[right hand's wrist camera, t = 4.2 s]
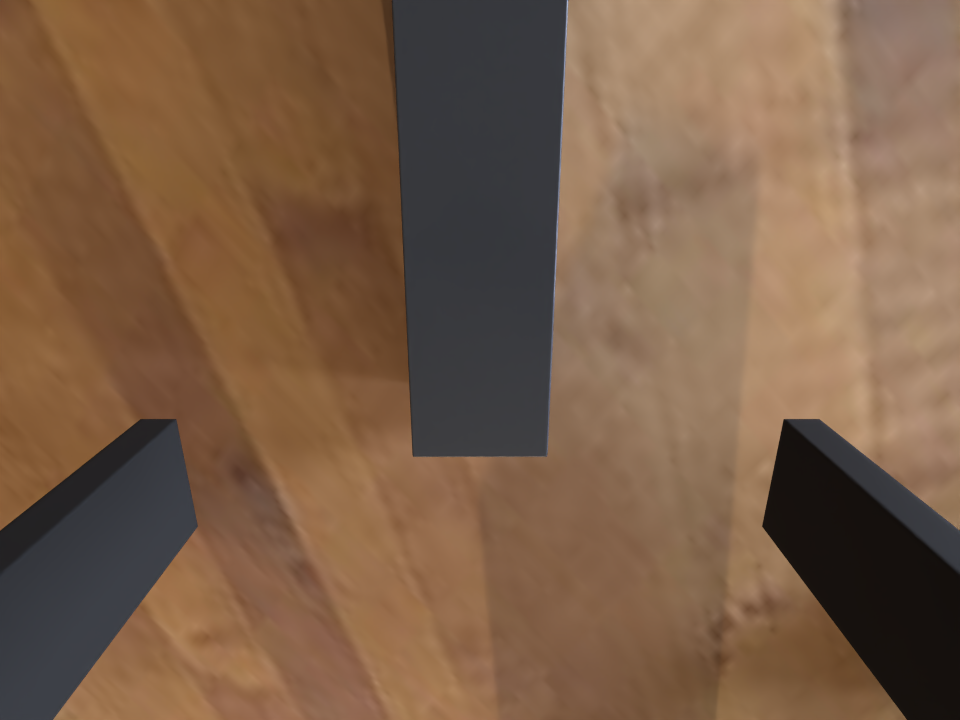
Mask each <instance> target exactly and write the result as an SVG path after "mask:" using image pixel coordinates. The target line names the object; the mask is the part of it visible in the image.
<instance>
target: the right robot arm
mask: <svg viewBox="0 0 960 720" xmlns="http://www.w3.org/2000/svg"><path fill="white" fill-rule="evenodd" d="M197 527H198V525H197V520H196V515H195V510H194V505H193V500H192V495H191V490H190V485H189V480H188V475H187V470H186V465H185V461H184V456H183V451H182V446H181V441H180V436H179V431H178V426H177V421H176V419H140V420H139V421H138V422H137V423H135V424H134V425H133V426H132V427H130V428H129V429H128V430H127V431H125V432H124V433H123V434H122V435H120V436H119V437H118V438H116V439H115V440H114V441H113V442H111V443H110V444H109V445H108V446H106V447H105V448H104V449H103V450H101V451H100V452H99V453H98V454H96V455H95V456H94V457H93V458H91V459H90V460H89V461H88V462H86V463H85V464H84V465H82V466H81V467H80V468H79V469H77V470H76V471H75V472H74V473H72V474H71V475H70V476H69V477H67V478H66V479H65V480H64V481H62V482H61V483H60V484H59V485H57V486H56V487H55V488H54V489H52V490H51V491H50V492H48V493H47V494H46V495H45V496H43V497H42V498H41V499H40V500H38V501H37V502H36V503H35V504H33V505H32V506H31V507H30V508H28V509H27V510H26V511H25V512H23V513H22V514H21V515H20V516H18V517H17V518H16V519H14V520H13V521H12V522H11V523H9V524H8V525H7V526H6V527H4V528H3V529H2V530H1V531H0V720H53V719H54V718H55V716H56V715H57V714H58V712H59V711H60V710H61V708H62V707H63V705H64V704H65V703H66V701H67V700H68V699H69V697H70V696H71V695H72V693H73V692H74V691H75V689H76V688H77V687H78V685H79V684H80V683H81V681H82V680H83V679H84V677H85V676H86V675H87V673H88V672H89V671H90V669H91V668H92V667H93V665H94V664H95V663H96V661H97V660H98V659H99V657H100V656H101V655H102V653H103V652H104V651H105V649H106V648H107V647H108V645H109V644H110V643H111V641H112V640H113V639H114V637H115V636H116V635H117V633H118V632H119V631H120V629H121V628H122V627H123V625H124V624H125V623H126V621H127V620H128V619H129V617H130V616H131V615H132V613H133V612H134V611H135V609H136V608H137V607H138V605H139V604H140V603H141V601H142V600H143V599H144V597H145V596H146V595H147V593H148V592H149V591H150V589H151V588H152V587H153V585H154V584H155V583H156V581H157V580H158V579H159V577H160V576H161V575H162V573H163V572H164V571H165V569H166V568H167V567H168V565H169V564H170V563H171V561H172V560H173V559H174V557H175V556H176V555H177V553H178V552H179V551H180V549H181V548H182V547H183V545H184V544H185V543H186V541H187V540H188V539H189V537H190V536H191V535H192V533H193V532H194V531H195V529H196V528H197ZM762 527H763V528H764V529H765V531H766V532H767V533H768V535H769V536H770V537H771V539H772V540H773V541H774V543H775V544H776V545H777V547H778V548H779V549H780V551H781V552H782V553H783V555H784V556H785V557H786V559H787V560H788V561H789V563H790V564H791V565H792V567H793V568H794V569H795V571H796V572H797V573H798V575H799V576H800V577H801V579H802V580H803V581H804V583H805V584H806V585H807V587H808V588H809V589H810V591H811V592H812V593H813V595H814V596H815V597H816V599H817V600H818V601H819V603H820V604H821V605H822V607H823V608H824V609H825V611H826V612H827V613H828V615H829V616H830V617H831V619H832V620H833V621H834V623H835V624H836V625H837V627H838V628H839V629H840V631H841V632H842V633H843V635H844V636H845V637H846V639H847V640H848V641H849V643H850V644H851V645H852V647H853V648H854V649H855V651H856V652H857V653H858V655H859V656H860V657H861V659H862V660H863V661H864V663H865V664H866V665H867V667H868V668H869V669H870V671H871V672H872V673H873V675H874V676H875V677H876V679H877V680H878V681H879V683H880V684H881V685H882V687H883V688H884V689H885V691H886V692H887V693H888V695H889V696H890V697H891V699H892V700H893V701H894V703H895V704H896V705H897V707H898V708H899V710H900V711H901V712H902V714H903V715H904V716H905V718H906V719H907V720H960V531H959V530H958V529H957V528H956V527H954V526H953V525H952V524H951V523H949V522H948V521H947V520H946V519H944V518H943V517H942V516H940V515H939V514H938V513H937V512H935V511H934V510H933V509H932V508H930V507H929V506H928V505H927V504H925V503H924V502H923V501H922V500H920V499H919V498H918V497H917V496H915V495H914V494H913V493H912V492H910V491H909V490H908V489H906V488H905V487H904V486H903V485H901V484H900V483H899V482H898V481H896V480H895V479H894V478H893V477H891V476H890V475H889V474H888V473H886V472H885V471H884V470H883V469H881V468H880V467H879V466H878V465H876V464H875V463H874V462H872V461H871V460H870V459H869V458H867V457H866V456H865V455H864V454H862V453H861V452H860V451H859V450H857V449H856V448H855V447H854V446H852V445H851V444H850V443H849V442H847V441H846V440H845V439H844V438H842V437H841V436H840V435H838V434H837V433H836V432H835V431H833V430H832V429H831V428H830V427H828V426H827V425H826V424H825V423H823V422H822V421H821V420H820V419H784V421H783V426H782V431H781V436H780V441H779V446H778V451H777V456H776V461H775V465H774V470H773V475H772V480H771V485H770V490H769V495H768V500H767V505H766V510H765V515H764V520H763V525H762Z"/></svg>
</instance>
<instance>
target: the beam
mask: <svg viewBox="0 0 960 720" xmlns="http://www.w3.org/2000/svg"><path fill="white" fill-rule="evenodd" d="M392 15H393V37H394V59H395V81H396V103H397V124H398V146H399V168H400V190H401V212H402V234H403V256H404V277H405V299H406V321H407V343H408V365H409V387H410V408H411V430H412V452H413V457H547V452H548V430H549V409H550V387H551V365H552V343H553V321H554V299H555V277H556V256H557V234H558V212H559V190H560V168H561V146H562V125H563V103H564V81H565V59H566V37H567V15H568V0H392Z"/></svg>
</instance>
